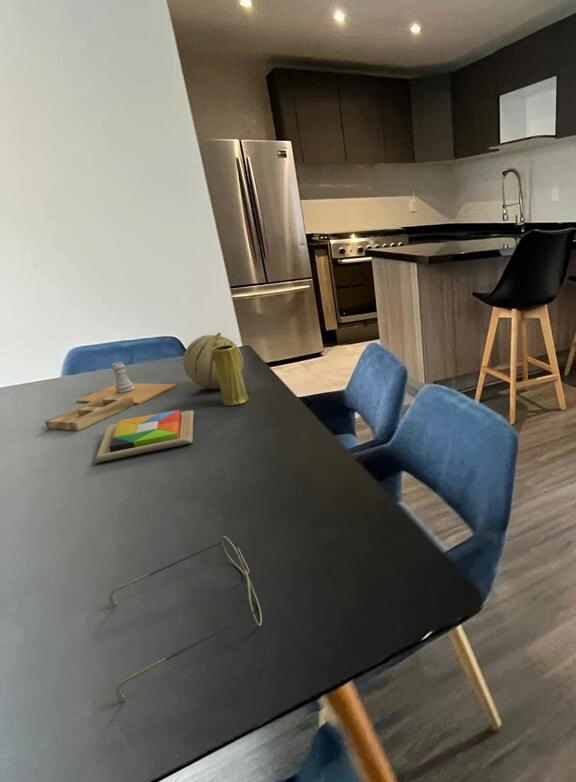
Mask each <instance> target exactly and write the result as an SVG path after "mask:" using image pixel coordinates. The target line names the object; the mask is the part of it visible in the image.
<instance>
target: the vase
mask: <svg viewBox="0 0 576 782" xmlns="http://www.w3.org/2000/svg"><path fill="white" fill-rule="evenodd" d="M212 354H213V358H214V361H215V365H216V369H217V375H218V379H219V384H220V388H219V390H220V393H221V394H220V395H221V398H222V404H223V405H224V406H227V407H233V406H234V405H236V406H239V405H238V404H240V405H243V404H245V403H247V402H248V401H249V400H250V399H249V396H248V393H247V388H246V386H245V382H244V381H245V380H244V379H243V374H242V372H241V370H240V366H239V363H238V359H237V355H236V351H235V346H234V345H222V346H217V347H214V348H212ZM242 403H243V404H242ZM234 407H235V406H234Z"/></svg>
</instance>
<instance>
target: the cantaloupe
mask: <svg viewBox="0 0 576 782" xmlns="http://www.w3.org/2000/svg"><path fill="white" fill-rule="evenodd" d="M222 345H234V346H235V351H236V355H237V359H238V363H239V366H240V370H241V373H243V369H244V357H243V354H242V352H241V350H240V348H239V347H238V346H237V344H236V343H235V342H234V341H232V340H231V339H229V338H228V337H225V336H222V333H221V332H217V334H215V335H214V334H205V335H202V336H200V337H198V338H196V339H195V340H193V341H191V343H190V344H189V345H188V346H187V347H186V349H185V352H184V354H183V359H182V364H183V370H184V372H185V374H186V376H187V378H189V379H190V380H191V381H192V382H193V383H194V384H195V385H197V386H200V387H203V388H206V389H210V390H220V384H219V379H218V375H217V369H216V365H215V361H214V358H213V354H212V348H214V347H217V346H222Z"/></svg>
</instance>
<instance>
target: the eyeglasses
mask: <svg viewBox="0 0 576 782" xmlns="http://www.w3.org/2000/svg"><path fill="white" fill-rule="evenodd" d="M223 539H225V540H227V542H228V543H229V544H230V546H231V547H232V548H233V550H234V552H235V554H236V556H237V558H238V561H239V563H240V565H241V566H239V565H237V563H236V562H235V561H234V560H233V559H232V558H231V556H230V555H229V553H228V551H227V549H226V547H225V544H224V541H223ZM220 545H221V546H222V548H223V550H224V552H225V555H226V557H227V558H228V559H229V560H230V562H231V563H232V564H233V565H234V566H235V567H236V568H237V569H238V570H239V571H240V572H241V573H242V574H243V575H244V580H246V582H247V593H248V602H249V607H250V611H251V612H249V613H248V614H246V615H244V616H242V617H240V618H239V619H237V620H234V621H233V622H231V623H229V624H227V625H226V626H224V627H222V628H220V629H218V630H216V631H214V632H212V633H210V634H208V635H207V636H205V637H203V638H201V639H199V640H198V641H195V642H194V643H191V644H189V645H188V646H185V647H184V648H182V649H180V650H179V651H177V652H175V653H173V654H171V655H169V656H167V657H164V658H163V659H161V660H158V661H156V662H155V663H153V664H150V665H149V666H147V667H145V668H143V669H141V670H140V671H138V672H136V673H134V674H133V675H130V676H129V677H127V678H124V679H123V680H121V682H119V683H118V685H117V686H116V688H115V697H116V698H117V701H118V703H120V704H121V703H123V702H125V701H126V697H125V696H124V695H123V694H122V692H121V689H122V687H123V686H124V685H125V684H126V683H128V682H130V681H132V680H135V679H136V678H138V677H140V676H142V675H144V674H145V673H148V672H149V671H151V670H153V669H155V668H156V667H159V666H160V665H163V664H164V663H166V662H168V661H169V660H171V659H173V658H175V657H177V656H178V655H181V654H183V653H184V652H186V651H188V650H190V649H191V648H194V647H196V646H197V645H199V644H201V643H203V642H204V641H207V640H209V639H211V638H212V637H214V636H216V635H218V634H220V633H222V632H224V631H225V630H227V629H229V628H231V627H233V626H235V625H236V624H238V623H240V622H242V621H244V620H246V619H247V618H250V617H253V619H254V622H255V623H256V626H257V627H261V626H262V623H263V615H262V610H261V605H260V602H259V599H258V597H257V594H256V592H255V590H254V587H253V584H252V582H251V579H250V577H249V573H250V572H251V570H250V568H249V567H248V564H247V562H246V561H245V557H244V556H243V554H242V552H241V550H240V548H239V547H235V545H234V544H233V542H232V541H231V540H230V539H229V538H228V537H227V536H225V535H222V536H221V537H220V541H219V542H217V543H215V544H212V545H210V546H208V547H205V548H203V549H201V550H199V551H196V552H194V553H192V554H190V555H187V556H185V557H183V558H181V559H179V560H176V561H174V562H172V563H169V564H167V565H165V566H163V567H160V568H159V569H156V570H154V571H152V572H150V573H147V574H144V575H142V576H140V577H138V578H135V579H133V580H131V581H129V582H126V583H124V584H122V585H120V586H117V587H115V588H114V589H112V590H111V591H110V593H109V595H108V601H109V603H110V605H111V607H112V608H114V607H116V606H118V603H117V601H115V599H114V594H115V593H116V592H118V591H120V590H122V589H125V588H127V587H130V586H131V585H134V584H136V583H138V582H140V581H142V580H145V579H147V578H149V577H151V576H153V575H156V574H158V573H159V572H162V571H164V570H167V569H169V568H171V567H173V566H175V565H178V564H180V563H182V562H185V561H186V560H188V559H191V558H193V557H195V556H197V555H200V554H202V553H205V552H206V551H209V550H211V549H213V548H216V547H217V546H220ZM241 558H242V559H241ZM244 565H245V566H244ZM245 567H246V569H245ZM251 591H252V594H253V596H254V598H255V601H256V604H257V608H258V612H259V621H258V620H257V617H256V614H255V610H254V607H253V604H252V603H253V602H252V597H251Z"/></svg>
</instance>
